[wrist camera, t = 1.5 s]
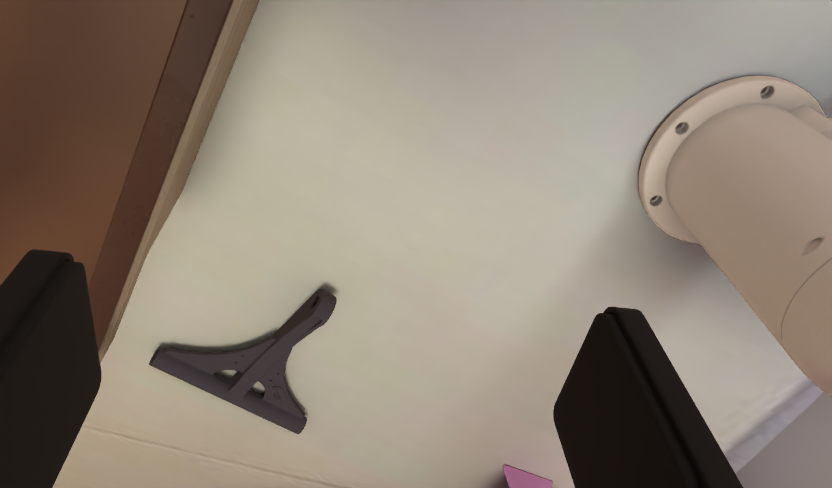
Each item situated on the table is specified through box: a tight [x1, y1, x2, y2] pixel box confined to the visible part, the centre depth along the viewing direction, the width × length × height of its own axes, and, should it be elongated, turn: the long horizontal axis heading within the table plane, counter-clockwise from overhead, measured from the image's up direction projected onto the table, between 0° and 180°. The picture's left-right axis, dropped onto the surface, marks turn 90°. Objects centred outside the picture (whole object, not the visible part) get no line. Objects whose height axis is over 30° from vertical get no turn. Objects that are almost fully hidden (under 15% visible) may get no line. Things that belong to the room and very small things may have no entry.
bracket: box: [149, 289, 336, 434], centre depth 48 cm, size 14×15×3 cm
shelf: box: [0, 0, 259, 363], centre depth 27 cm, size 13×22×18 cm, turn 150°
